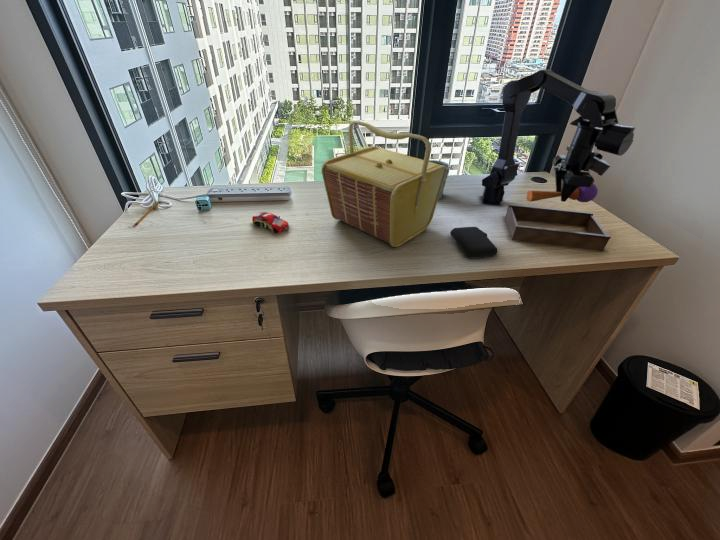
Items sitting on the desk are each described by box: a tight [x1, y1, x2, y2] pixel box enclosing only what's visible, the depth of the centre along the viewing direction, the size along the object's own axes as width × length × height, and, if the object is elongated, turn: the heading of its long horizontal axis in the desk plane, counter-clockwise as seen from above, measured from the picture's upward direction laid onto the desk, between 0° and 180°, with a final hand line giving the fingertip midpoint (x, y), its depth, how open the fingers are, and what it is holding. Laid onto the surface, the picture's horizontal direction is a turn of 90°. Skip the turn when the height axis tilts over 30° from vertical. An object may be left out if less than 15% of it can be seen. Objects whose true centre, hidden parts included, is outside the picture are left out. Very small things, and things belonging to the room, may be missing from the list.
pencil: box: [132, 201, 160, 228], centre depth 112 cm, size 19×1×1 cm, turn 4°
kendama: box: [526, 183, 599, 203], centre depth 100 cm, size 6×6×20 cm
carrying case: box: [450, 226, 498, 259], centre depth 97 cm, size 11×3×15 cm
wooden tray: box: [504, 203, 612, 252], centre depth 104 cm, size 26×16×5 cm, turn 78°
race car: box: [251, 211, 290, 235], centre depth 104 cm, size 13×5×4 cm, turn 57°
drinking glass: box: [429, 159, 451, 200], centre depth 124 cm, size 10×10×12 cm
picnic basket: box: [320, 120, 447, 248], centre depth 99 cm, size 29×26×30 cm
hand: (560, 197), depth 101 cm, fingers closed on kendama, 5 cm apart
